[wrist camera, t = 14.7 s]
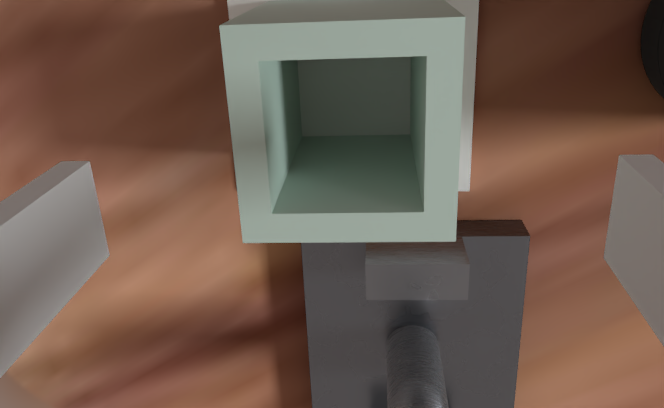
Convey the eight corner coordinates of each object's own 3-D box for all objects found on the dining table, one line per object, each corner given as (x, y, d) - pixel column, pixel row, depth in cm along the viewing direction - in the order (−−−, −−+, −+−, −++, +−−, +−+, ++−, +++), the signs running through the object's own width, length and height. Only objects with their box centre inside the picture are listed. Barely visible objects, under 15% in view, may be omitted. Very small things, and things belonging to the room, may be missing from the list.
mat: (225, -43, 29) (222, -43, 29) (479, -54, 28) (481, -54, 28) (249, 189, 34) (247, 193, 33) (467, 186, 33) (469, 191, 32)
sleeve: (268, 0, 29) (219, 25, 20) (436, -6, 29) (465, 16, 19) (281, 158, 32) (242, 242, 23) (433, 156, 32) (455, 241, 22)
